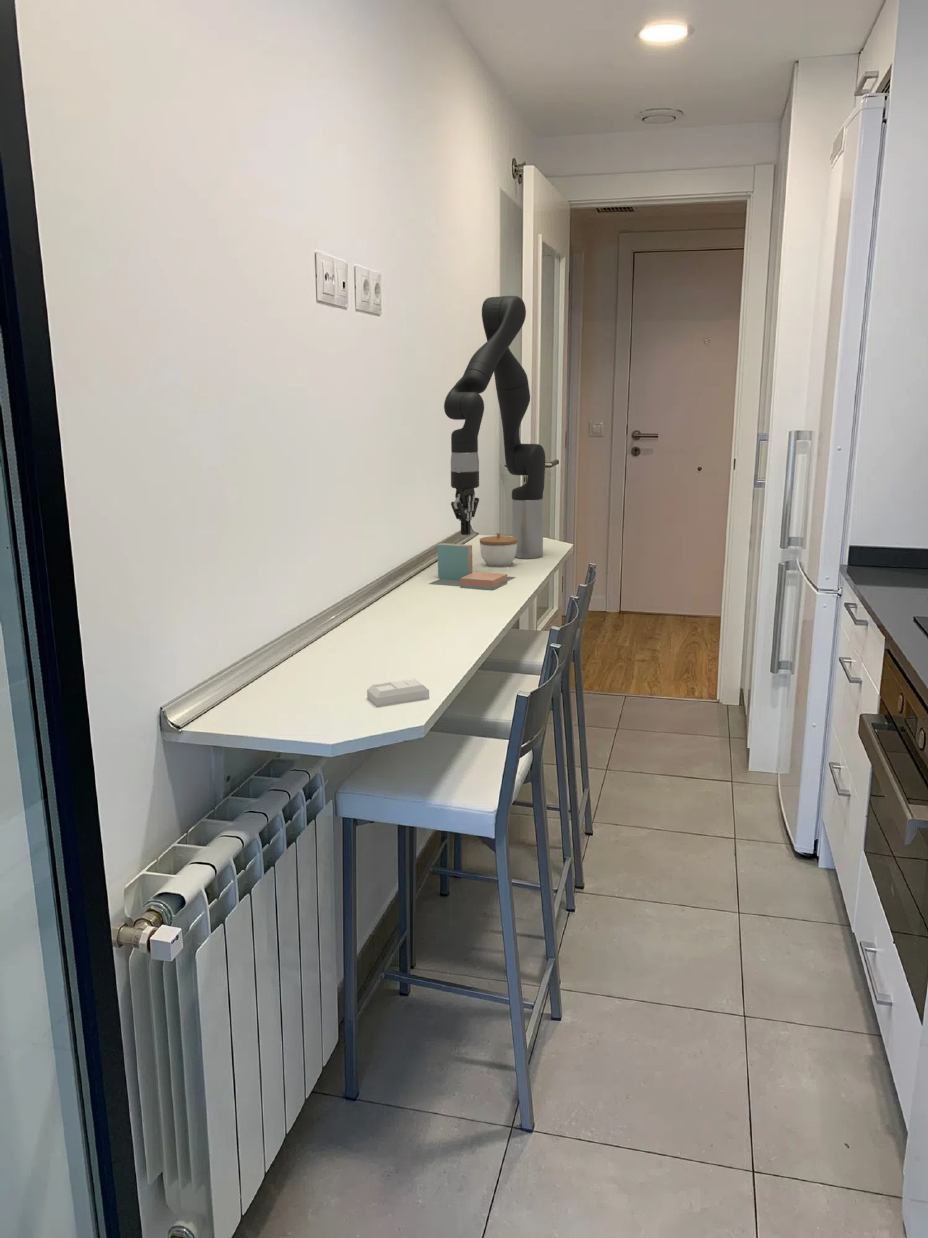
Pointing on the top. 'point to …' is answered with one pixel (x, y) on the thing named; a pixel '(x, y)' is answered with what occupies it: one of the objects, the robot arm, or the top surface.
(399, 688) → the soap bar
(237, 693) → the top surface
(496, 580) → the tile
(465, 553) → the tile
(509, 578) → the mat
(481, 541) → the lidded jar
